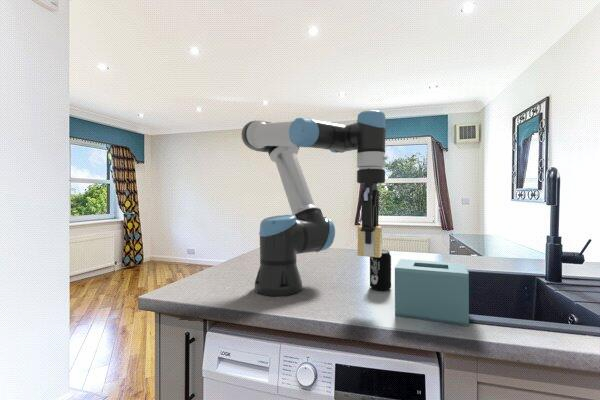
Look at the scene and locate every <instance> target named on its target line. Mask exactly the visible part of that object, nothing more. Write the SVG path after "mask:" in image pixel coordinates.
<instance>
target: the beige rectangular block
mask: <svg viewBox="0 0 600 400" xmlns="http://www.w3.org/2000/svg"><path fill="white" fill-rule="evenodd" d="M361 229H362V225H359V226H357V256H358V257H365V256H364V231H361ZM373 229H374V231H373V232H374V256H366V257H369V258H370V257H378V258H380V257H381V256H382V250H383V246H382V245H383V243H382V242H383V226H373Z"/></svg>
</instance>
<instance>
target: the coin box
mask: <svg viewBox="0 0 600 400" xmlns="http://www.w3.org/2000/svg"><path fill="white" fill-rule="evenodd" d="M467 268H468V267H467V265H466V263H463V262H448V261H435V260H434V261H433V260H423V259H422V260H419V259H418V260H417V259H405V258H400V259H399V260H398V261H397V264H396V265H395V266H394V316H395V317H402V318H409V319H415V320H416V319H417V320H423V321H429V322H437V323H444V324H450V325H451V324H452V325H458V326H464V327H469V326H470V290H469V288H470V285H469V284H470V282H469V281H470V280H469V279H470V276H469V274H470V273H469V271H468V269H467Z"/></svg>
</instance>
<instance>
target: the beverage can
mask: <svg viewBox="0 0 600 400" xmlns="http://www.w3.org/2000/svg"><path fill="white" fill-rule="evenodd" d="M369 287H370V288H371V289H372V290H373V291H377V292H386V291H390V289H391V288H392V255H391V254H390V251H389V250H386V249H382V256H381V257H380V258H378V257H369Z"/></svg>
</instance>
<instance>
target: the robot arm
mask: <svg viewBox="0 0 600 400" xmlns="http://www.w3.org/2000/svg"><path fill="white" fill-rule="evenodd" d="M386 132H387V127H386V114H385V113H384V112H383V111H381V110H378V109H376V110H375V109H371V110H370V109H369V110H364V111H360V112H359V113H358V114H357V118H356V122H355V123H351V124H339V123H334V122H327V121H321V120H316V119H312V118H310V117H295V119H294V120H291V121H279V122H270V121H263V120H252V121H249V122H247V123H246V124H245V125H244V126H243V128H242V130H241V140H242V143H243V144H244V145H245V146H246V147H247V148H249V149H250V150H251V151H254V152H255V151H256V152H260V153H261V152H262V153H267V154H268V156H269V159H270V161H272V163H275V165H276V169H277V171H278V174H279V177H280V180H281V181H280V182H282V186H283V190H284V193H285V195H286V198H287V201H288V204H289V207H290V211H291V213H292V214H283V215H273V216H270V217H265V218H264V219H262V220H261V222H260V223H259V232H258V234H259V269H258V271H257V275H256V278H255V280H254V291H255V292H256V293H257V294H260V295H262V296H271V297H282V296H290V295H294V294H297V293H300V292H301V291H302V290H303V281H302V277H301V275H300V272H299V267H298V265H297V255H300V254H306V253H307V254H308V253H317V252H321V251H326V250H327V249H329V248H330V247H331V246H332V245H333V243H334V240H335V236H336V227H335V224H334V221H333V220H332V219H331V218H329V217H327V216H324V213H323V211H322V209H321V208H320V207H317V206H316V205H315V203H314V200H313V196H312V194H311V191H310V188H309V186H308V183H307V181H306V178H305V175H304V173H303V170H302V166H301V164H300V162H299V158H298V157H297V155H298V154H299V150H300V148H314V149H323V150H329V151H330V152H332V153H334V154H335V153H336V154H337V153H343V154H344V153H346V152H351V151H356V167H357V168H358V170H357V171H356V182H357V184H362V185H363V189H362V190H361V191H362V192H360V198H361V200H360V201H361V226H362V229H361V231H364V256H363V257H367V256H374V232H373V231H374V229H373V226H378V227H380V226H379V217H380V216H379V215H380V214H379V213H380V212H379V209H380V205H379V203H380V196H381V195H380V190H378V184H384V183H385V182H386V170H385V169H384V168H385V167H386V160H388V156H387V155H386V134H387V133H386Z"/></svg>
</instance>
